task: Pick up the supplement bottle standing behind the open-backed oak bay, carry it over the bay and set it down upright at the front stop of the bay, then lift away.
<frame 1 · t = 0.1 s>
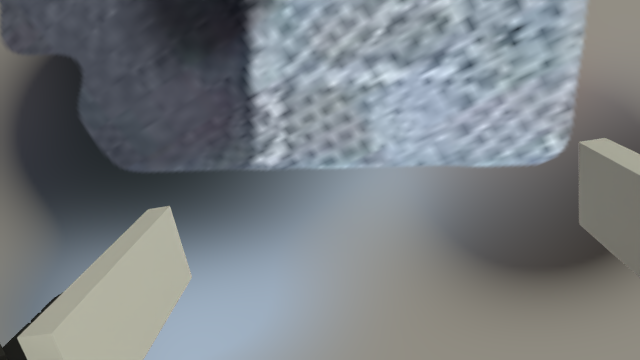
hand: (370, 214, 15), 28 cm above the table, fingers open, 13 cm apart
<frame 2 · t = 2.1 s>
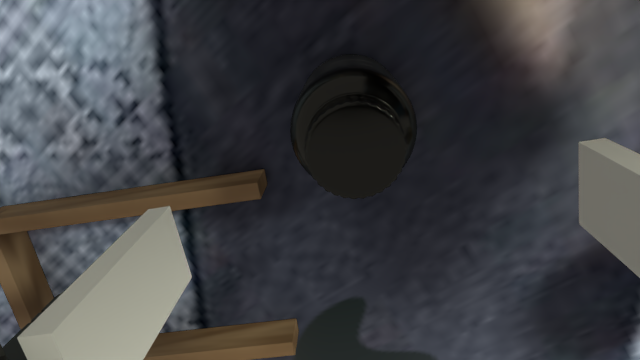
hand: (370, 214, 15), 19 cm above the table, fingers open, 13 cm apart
supplement bottle: (350, 103, 33), on the table
bay: (162, 269, 38), on the table
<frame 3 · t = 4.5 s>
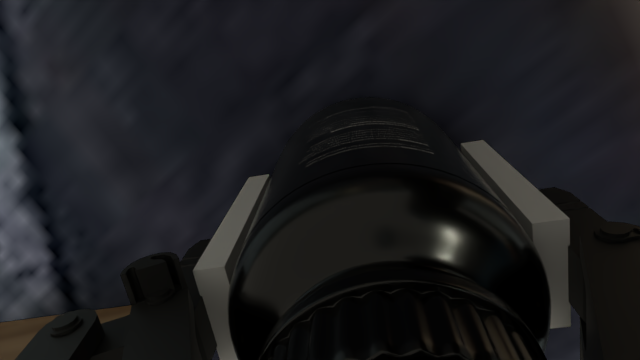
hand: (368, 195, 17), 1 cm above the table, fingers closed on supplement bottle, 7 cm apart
supplement bottle: (367, 183, 18), on the table, touching gripper
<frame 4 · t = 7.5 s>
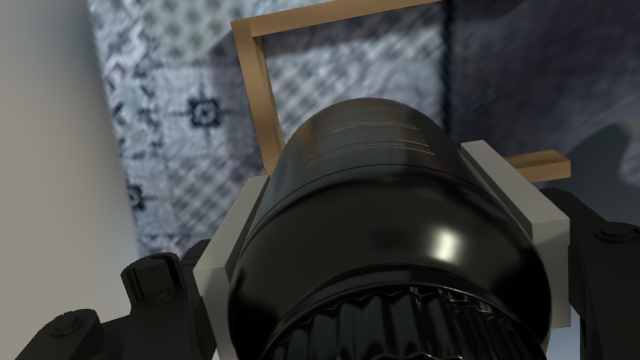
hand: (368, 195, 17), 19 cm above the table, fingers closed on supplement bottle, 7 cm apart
supplement bottle: (367, 183, 18), point 18 cm above the table, touching gripper
bay: (409, 93, 34), on the table
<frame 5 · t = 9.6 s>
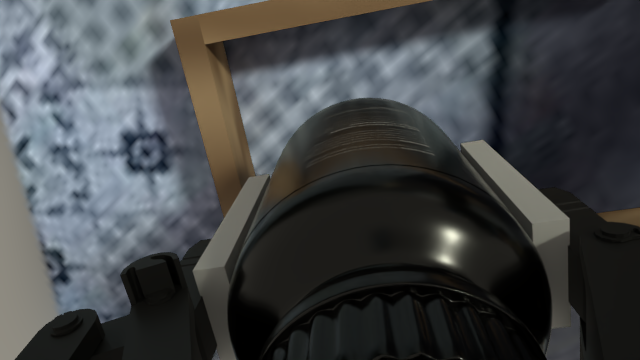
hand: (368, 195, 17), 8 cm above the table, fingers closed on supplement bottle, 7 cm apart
supplement bottle: (367, 184, 18), point 6 cm above the table, touching gripper
bay: (443, 126, 23), on the table
when the fingers open (3 cm above the table, at t = 11.0 s): supplement bottle drops 2 cm, resting in bay.
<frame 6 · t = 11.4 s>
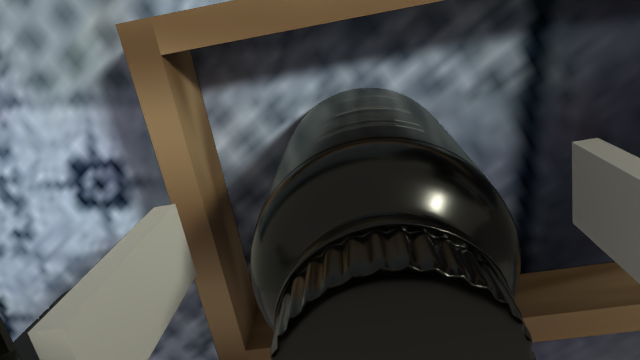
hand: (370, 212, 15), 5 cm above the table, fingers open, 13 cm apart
supplement bottle: (366, 166, 20), resting in bay
bay: (462, 153, 19), on the table
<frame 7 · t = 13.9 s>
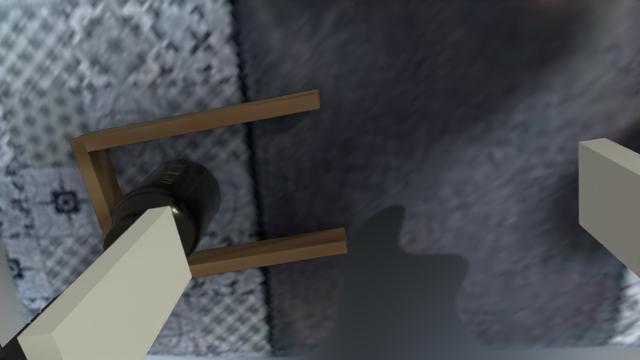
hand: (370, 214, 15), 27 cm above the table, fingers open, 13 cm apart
supplement bottle: (187, 192, 44), resting in bay
bay: (226, 186, 43), on the table
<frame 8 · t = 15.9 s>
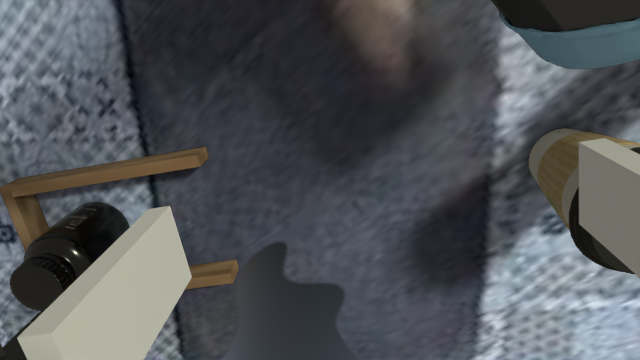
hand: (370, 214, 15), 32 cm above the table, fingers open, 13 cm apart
coffee cup: (559, 158, 47), on the table
supplement bottle: (103, 227, 52), resting in bay
bay: (136, 223, 51), on the table
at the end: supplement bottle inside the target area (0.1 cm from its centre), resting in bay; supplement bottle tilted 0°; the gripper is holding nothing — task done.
